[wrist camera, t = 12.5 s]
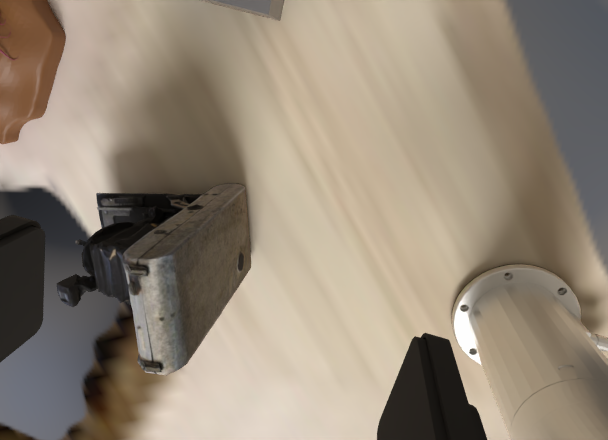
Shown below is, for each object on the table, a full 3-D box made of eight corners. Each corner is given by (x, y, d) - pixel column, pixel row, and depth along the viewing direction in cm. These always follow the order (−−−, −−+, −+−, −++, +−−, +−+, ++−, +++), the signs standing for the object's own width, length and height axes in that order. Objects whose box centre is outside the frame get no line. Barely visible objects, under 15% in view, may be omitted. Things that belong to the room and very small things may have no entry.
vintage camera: (116, 176, 48) (-51, 251, 30) (251, 179, 45) (160, 263, 27) (130, 256, 51) (-11, 367, 33) (256, 263, 49) (179, 388, 30)
